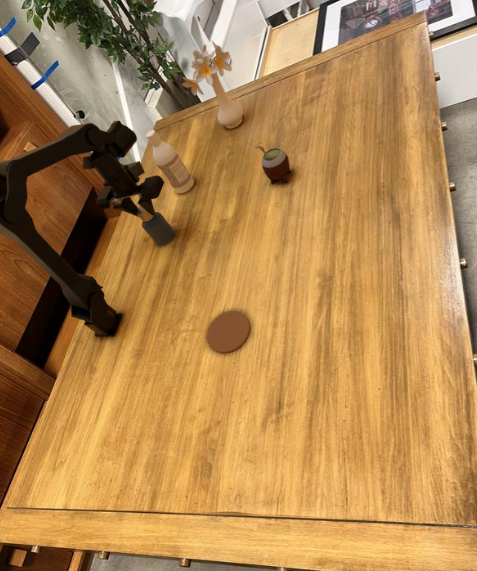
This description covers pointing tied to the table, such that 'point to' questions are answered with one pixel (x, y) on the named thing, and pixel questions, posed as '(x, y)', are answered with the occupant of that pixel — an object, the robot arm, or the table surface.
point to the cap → (143, 214)
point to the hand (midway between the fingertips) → (147, 215)
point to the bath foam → (170, 164)
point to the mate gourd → (275, 164)
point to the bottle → (159, 229)
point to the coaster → (228, 331)
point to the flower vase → (215, 83)
